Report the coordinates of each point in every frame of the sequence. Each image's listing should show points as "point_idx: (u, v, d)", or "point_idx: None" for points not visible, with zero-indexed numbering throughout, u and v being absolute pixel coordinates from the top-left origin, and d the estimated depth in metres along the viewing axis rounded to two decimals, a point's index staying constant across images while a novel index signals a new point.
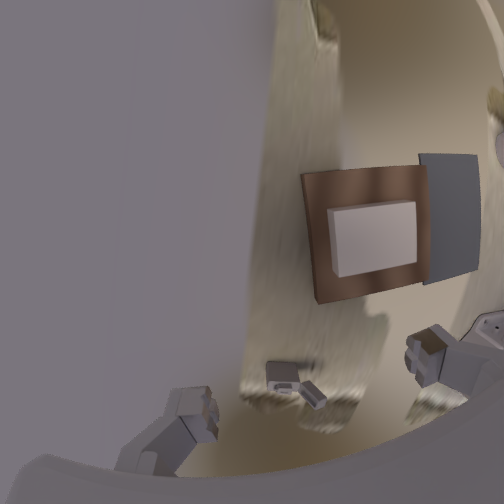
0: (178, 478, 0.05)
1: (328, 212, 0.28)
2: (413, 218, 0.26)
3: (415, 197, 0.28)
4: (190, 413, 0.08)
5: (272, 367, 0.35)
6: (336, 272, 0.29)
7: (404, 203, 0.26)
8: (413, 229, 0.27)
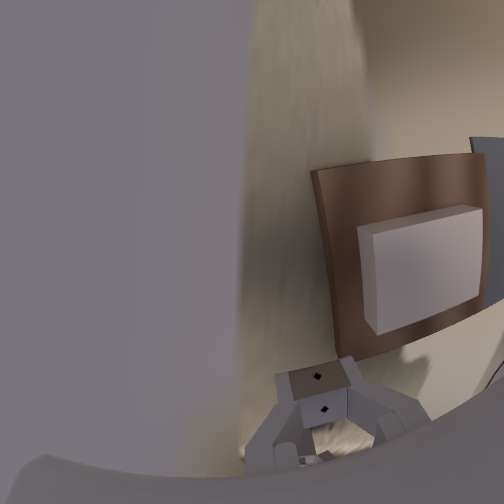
0: (178, 478, 0.05)
1: (359, 232, 0.17)
2: (479, 234, 0.15)
3: (474, 201, 0.16)
4: (310, 395, 0.08)
5: None
6: (372, 325, 0.17)
7: (469, 212, 0.14)
8: (478, 250, 0.15)
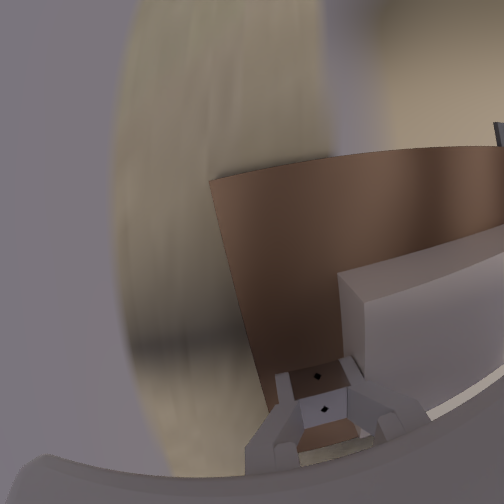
0: (178, 478, 0.05)
1: (341, 285, 0.09)
2: None
3: None
4: (310, 394, 0.08)
5: None
6: None
7: None
8: None
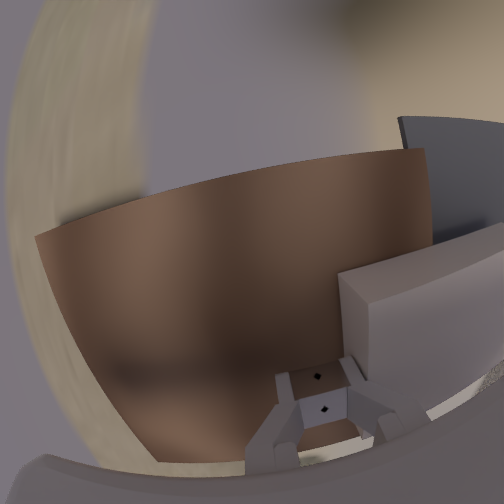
0: (178, 478, 0.05)
1: (342, 286, 0.09)
2: None
3: (388, 257, 0.09)
4: (310, 394, 0.08)
5: None
6: None
7: None
8: None
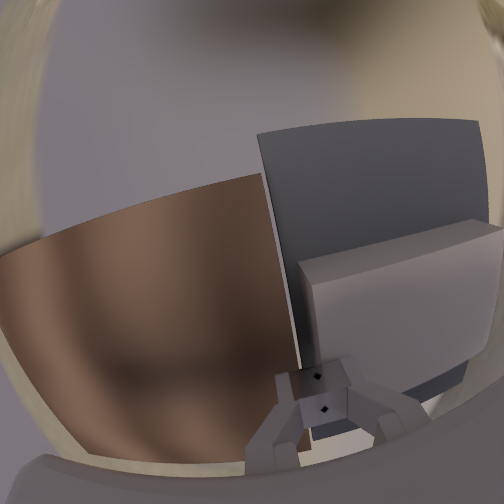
0: (178, 478, 0.05)
1: (300, 272, 0.11)
2: (496, 268, 0.09)
3: (221, 298, 0.10)
4: (310, 394, 0.08)
5: None
6: None
7: (486, 235, 0.09)
8: (493, 290, 0.09)
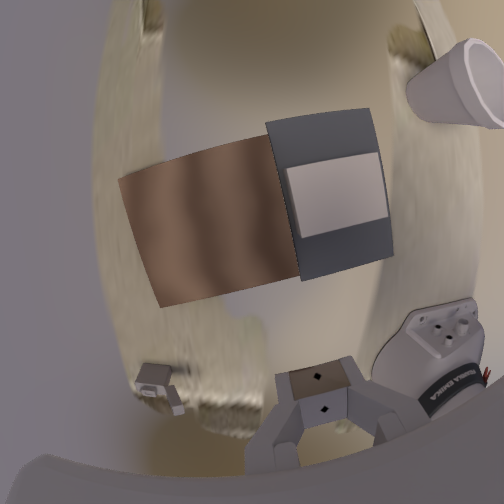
0: (178, 478, 0.05)
1: (283, 172, 0.27)
2: (377, 170, 0.25)
3: (254, 177, 0.26)
4: (310, 394, 0.08)
5: (144, 368, 0.33)
6: (299, 233, 0.28)
7: (365, 154, 0.25)
8: (379, 181, 0.26)
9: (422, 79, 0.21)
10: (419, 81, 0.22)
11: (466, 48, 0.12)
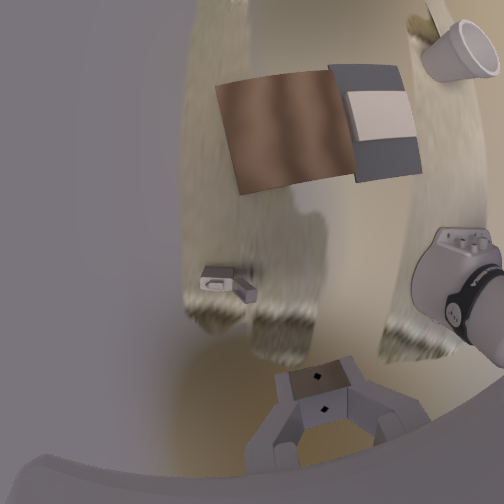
0: (178, 478, 0.05)
1: (342, 97, 0.32)
2: (407, 103, 0.30)
3: (324, 96, 0.31)
4: (310, 395, 0.08)
5: (208, 269, 0.38)
6: (356, 139, 0.33)
7: (398, 91, 0.30)
8: (409, 110, 0.30)
9: (433, 48, 0.26)
10: (430, 50, 0.27)
11: (460, 24, 0.17)
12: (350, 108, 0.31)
